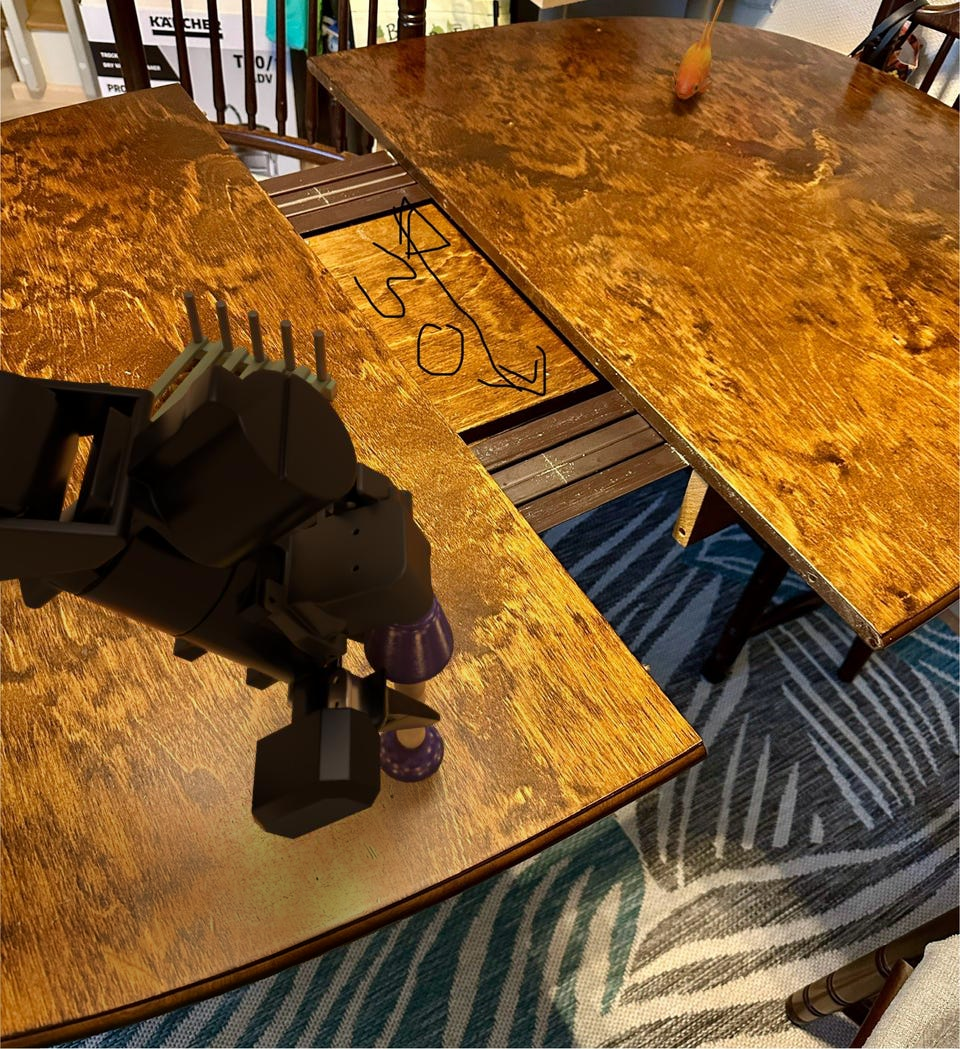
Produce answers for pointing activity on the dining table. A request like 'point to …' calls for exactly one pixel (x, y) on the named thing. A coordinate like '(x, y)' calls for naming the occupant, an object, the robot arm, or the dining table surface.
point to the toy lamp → (411, 688)
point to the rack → (238, 356)
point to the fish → (696, 64)
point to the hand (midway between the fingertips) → (433, 688)
